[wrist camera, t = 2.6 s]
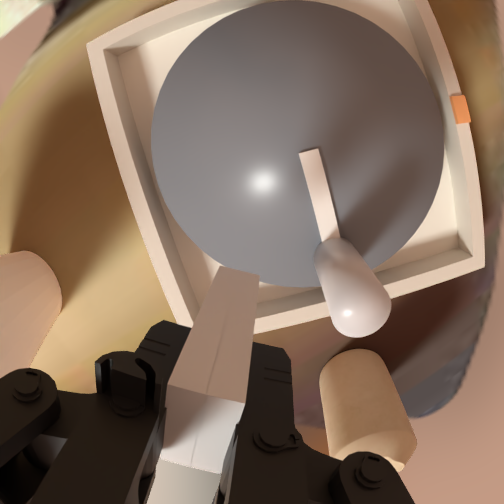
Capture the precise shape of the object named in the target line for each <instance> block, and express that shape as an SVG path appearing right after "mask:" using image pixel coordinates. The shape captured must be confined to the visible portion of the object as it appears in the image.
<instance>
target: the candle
mask: <svg viewBox="0 0 504 504" xmlns="http://www.w3.org/2000/svg"><path fill="white" fill-rule="evenodd" d="M319 384H320V392H321V399H322V405H323V412H324V419H325V425H326V432H327V439H328V446H329V454H330V456H331V457H334V458H336V459H339V460H342V461H343V460H344V459H345V458H346V457H347V456H348V455H349V454H352V453H355V452H357V451H369V452H372V453H375V454H379V455H381V456H382V457H384V458H385V459H387V460H388V461H389V462H390V463H391V464H392V465H393V467H394V468H395V469H396V471H397V472H399V471H401V470H403V469H404V467H405V465H406V463H407V462H408V460H409V459H410V458H411V456H412V454H413V452H414V451H415V449H416V446H417V439H416V437H415V434H414V432H413V429H412V427H411V424H410V422H409V419H408V417H407V414H406V412H405V409H404V407H403V404H402V402H401V400H400V397H399V395H398V392H397V390H396V388H395V385H394V383H393V381H392V379H391V376H390V374H389V372H388V369H387V367H386V365H385V363H384V361H383V360H382V358H381V357H380V356H379V355H378V354H377V353H375V352H373V351H371V350H367V349H352V350H348V351H345V352H342V353H340V354H338V355H336V356H335V357H333V358H332V359H331V360H329V361H328V362H327V363H326V365H325V366H324V368H323V369H322V371H321V374H320V380H319Z"/></svg>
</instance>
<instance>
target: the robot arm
mask: <svg viewBox="0 0 504 504" xmlns="http://www.w3.org/2000/svg"><path fill="white" fill-rule="evenodd" d="M259 280H260V275H257V274H252V273H248V272H244V271H240V270H236V269H232V268H228V267H224V266H219V268H218V271H217V273H216V275H215V277H214V279H213V282H212V284H211V286H210V288H209V290H208V293H207V295H206V297H205V299H204V302H203V304H202V306H201V308H200V310H199V313H198V315H197V317H196V319H195V322H194V324H193V326H192V328H190V327H187V326H183V325H179V324H176V323H172V322H169V321H165V320H163V321H161V322H159V323H157V324H156V325H154V326H152V327H151V328H150V329H149V331H148V333H147V334H146V336H145V337H144V339H143V340H142V342H141V343H140V345H139V348H137V350H136V351H135V353H134V352H129V351H117V352H111V353H108V354H105V355H102V356H101V357H100V358H99V359H98V360H96V361H95V375H96V388H97V393H93V394H80V393H73V392H67V391H61V390H57V387H56V384H55V381H54V380H53V379H52V378H51V377H50V376H49V375H48V374H46V373H45V372H43V371H41V370H38V369H33V368H22V369H17V370H14V371H12V372H10V373H8V374H6V375H5V376H3V377H2V378H0V504H146V503H147V500H148V497H149V494H150V491H151V488H152V485H153V482H154V479H155V472H156V464H157V462H158V459H159V456H160V453H161V457H160V459H163V460H166V461H169V462H173V463H177V464H180V465H184V466H188V467H192V468H197V469H200V470H204V471H209V472H213V473H218V474H221V472H222V474H221V479H220V484H219V487H218V489H217V492H216V494H215V497H214V499H213V502H212V504H415V503H414V501H413V499H412V498H411V496H410V494H409V492H408V491H407V489H406V487H405V485H404V483H403V482H402V480H401V478H400V476H399V475H398V473H397V471H396V469H395V468H394V467H393V465H392V464H391V463H390V462H389V461H388V460H387V459H385V458H384V457H382V456H381V455H379V454H375V453H372V452H369V451H357V452H355V453H352V454H349V455H348V456H347V457H346V458H345V459H344V460H343V461H342V460H339V459H336V458H334V457H331V456H328V455H325V454H322V453H320V452H318V451H316V450H313V449H312V448H310V447H309V446H308V445H306V444H305V443H304V442H303V439H302V436H301V434H300V433H299V432H298V431H297V429H296V428H295V425H294V408H293V390H292V375H291V360H290V358H289V357H288V355H287V354H286V352H285V351H284V349H283V348H278V347H274V346H269V345H265V344H260V343H256V342H253V334H254V325H255V316H256V307H257V298H258V289H259Z"/></svg>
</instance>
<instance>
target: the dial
mask: <svg viewBox="0 0 504 504" xmlns="http://www.w3.org/2000/svg"><path fill="white" fill-rule="evenodd" d="M151 152H152V160H153V167H154V171H155V175H156V179H157V183H158V186H159V188H160V191H161V193H162V196H163V198H164V201H165V203H166V205H167V207H168V208H169V210H170V212H171V214H172V215H173V217H174V219H175V220H176V222H177V223H178V224H179V226H180V227H181V228H182V230H183V231H184V232H185V234H186V235H187V236H188V237H189V238H190V239H191V240H192V241H193V242H194V243H195V244H196V245H197V246H198V247H199V248H200V249H201V250H202V251H204V252H205V253H206V254H207V255H209V256H210V257H211V258H212V259H214V260H215V261H217V262H218V263H220V264H222V265H223V266H225V267H228V268H232V269H236V270H240V271H244V272H248V273H252V274H257V275H260V280H259V281H260V282H263V283H267V284H272V285H278V286H284V287H302V288H305V287H318V286H321V287H322V290H323V293H324V296H325V300H326V303H327V306H328V309H329V312H330V316H331V319H332V322H333V324H334V326H335V328H336V329H337V330H338V331H339V332H340V333H342V334H344V335H346V336H349V337H364V336H367V335H370V334H372V333H374V332H376V331H377V330H378V329H380V328H381V327H382V326H383V325H384V323H385V322H386V321H387V319H388V317H389V314H390V311H391V299H390V296H389V294H388V292H387V291H386V290H385V288H384V287H383V285H382V284H381V283H380V281H379V280H378V278H377V277H376V276H375V274H374V273H373V272H372V269H374V268H376V267H377V266H379V265H380V264H382V263H383V262H385V261H386V260H388V259H389V258H390V257H392V256H393V255H394V254H395V253H396V252H397V251H399V250H400V249H401V248H402V247H403V246H404V245H405V244H406V243H407V242H408V240H409V239H410V238H411V237H412V236H413V235H414V234H415V232H416V231H417V229H418V228H419V227H420V225H421V224H422V222H423V221H424V219H425V217H426V216H427V214H428V212H429V210H430V208H431V206H432V204H433V201H434V199H435V196H436V193H437V190H438V187H439V184H440V179H441V174H442V170H443V161H444V133H443V126H442V121H441V115H440V111H439V108H438V105H437V102H436V99H435V96H434V93H433V91H432V89H431V87H430V85H429V83H428V81H427V78H426V77H425V75H424V73H423V72H422V70H421V69H420V67H419V66H418V64H417V63H416V61H415V60H414V59H413V58H412V56H411V55H410V54H409V53H408V52H407V50H406V49H405V48H404V47H403V46H402V45H401V44H400V43H399V42H398V41H397V40H395V39H394V38H393V37H392V36H391V35H390V34H389V33H387V32H386V31H385V30H383V29H382V28H380V27H379V26H377V25H376V24H375V23H373V22H371V21H370V20H368V19H366V18H364V17H362V16H360V15H358V14H356V13H354V12H351V11H348V10H346V9H343V8H340V7H337V6H333V5H329V4H325V3H320V2H314V1H303V0H286V1H274V2H268V3H263V4H258V5H255V6H251V7H248V8H245V9H242V10H239V11H237V12H235V13H233V14H231V15H229V16H226V17H224V18H222V19H221V20H219V21H218V22H216V23H215V24H213V25H212V26H210V27H209V28H207V29H206V30H204V31H203V32H202V33H201V34H200V35H199V36H197V37H196V38H195V39H194V40H193V41H192V42H191V43H190V44H189V45H188V46H187V47H186V49H185V50H184V51H183V52H182V53H181V54H180V56H179V57H178V58H177V60H176V61H175V63H174V64H173V66H172V67H171V69H170V71H169V72H168V74H167V76H166V78H165V80H164V83H163V85H162V87H161V89H160V92H159V95H158V98H157V101H156V105H155V108H154V114H153V120H152V126H151Z"/></svg>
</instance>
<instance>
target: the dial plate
mask: <svg viewBox="0 0 504 504" xmlns="http://www.w3.org/2000/svg"><path fill="white" fill-rule="evenodd" d="M274 1H286V0H177V1H175V2H172V3H170V4H167V5H165V6H162V7H160V8H157V9H155V10H153V11H150V12H148V13H146V14H144V15H141V16H139V17H137V18H135V19H133V20H131V21H129V22H127V23H124V24H122V25H120V26H118V27H116V28H115V29H113V30H111V31H109V32H107V33H105V34H103V35H101V36H99V37H98V38H96V39H94V40H92V41H91V42H89V43H87V44H86V46H87V51H88V56H89V60H90V65H91V69H92V74H93V78H94V82H95V86H96V90H97V94H98V98H99V102H100V106H101V110H102V113H103V117H104V121H105V124H106V128H107V132H108V135H109V138H110V142H111V145H112V149H113V152H114V155H115V159H116V162H117V165H118V168H119V171H120V174H121V178H122V181H123V184H124V187H125V190H126V193H127V196H128V199H129V201H130V204H131V207H132V210H133V213H134V216H135V219H136V221H137V224H138V227H139V230H140V232H141V235H142V238H143V240H144V243H145V246H146V248H147V251H148V254H149V256H150V259H151V261H152V264H153V266H154V269H155V271H156V274H157V276H158V279H159V281H160V284H161V286H162V289H163V291H164V293H165V296H166V298H167V300H168V303H169V305H170V307H171V310H172V312H173V314H174V317H175V319H176V321H177V323H178V324H179V325H183V326H187V327H190V328H192V326H193V324H194V322H195V319H196V317H197V315H198V313H199V310H200V308H201V306H202V304H203V302H204V299H205V297H206V295H207V293H208V290H209V288H210V286H211V284H212V282H213V279H214V277H215V275H216V273H217V271H218V268H219V266H223V265H222V264H220V263H218V262H217V261H215V260H214V259H212V258H211V257H210V256H209V255H207V254H206V253H205V252H204V251H202V250H201V249H200V248H199V247H198V246H197V245H196V244H195V243H194V242H193V241H192V240H191V239H190V238H189V237H188V236H187V235H186V234H185V232H184V231H183V230H182V228H181V227H180V226H179V224H178V223H177V222H176V220H175V219H174V217H173V215H172V214H171V212H170V210H169V208H168V207H167V205H166V203H165V201H164V198H163V196H162V193H161V191H160V188H159V186H158V183H157V179H156V175H155V171H154V167H153V160H152V152H151V126H152V120H153V114H154V108H155V105H156V101H157V98H158V95H159V92H160V89H161V87H162V85H163V83H164V80H165V78H166V76H167V74H168V72H169V71H170V69H171V67H172V66H173V64H174V63H175V61H176V60H177V58H178V57H179V56H180V54H181V53H182V52H183V51H184V50H185V49H186V47H187V46H188V45H189V44H190V43H191V42H192V41H193V40H194V39H195V38H196V37H197V36H199V35H200V34H201V33H202V32H203V31H204V30H206V29H207V28H209V27H210V26H212V25H213V24H215V23H216V22H218V21H219V20H221V19H222V18H224V17H226V16H229V15H231V14H233V13H235V12H237V11H239V10H242V9H245V8H248V7H251V6H255V5H258V4H263V3H268V2H274ZM303 1H314V2H320V3H325V4H329V5H333V6H337V7H340V8H343V9H346V10H348V11H351V12H354V13H356V14H358V15H360V16H362V17H364V18H366V19H368V20H370V21H371V22H373V23H375V24H376V25H377V26H379V27H380V28H382V29H383V30H385V31H386V32H387V33H389V34H390V35H391V36H392V37H393V38H394V39H395V40H397V41H398V42H399V43H400V44H401V45H402V46H403V47H404V48H405V49H406V50H407V52H408V53H409V54H410V55H411V56H412V58H413V59H414V60H415V61H416V63H417V64H418V66H419V67H420V69H421V70H422V72H423V73H424V75H425V77H426V78H427V81H428V83H429V85H430V87H431V89H432V91H433V93H434V96H435V99H436V102H437V105H438V108H439V111H440V115H441V121H442V126H443V133H444V161H443V170H442V174H441V179H440V184H439V187H438V190H437V193H436V196H435V199H434V201H433V204H432V206H431V208H430V210H429V212H428V214H427V216H426V217H425V219H424V221H423V222H422V224H421V225H420V227H419V228H418V229H417V231H416V232H415V234H414V235H413V236H412V237H411V238H410V239H409V240H408V242H407V243H406V244H405V245H404V246H403V247H402V248H401V249H400V250H399V251H397V252H396V253H395V254H394V255H393V256H392V257H390V258H389V259H388V260H386V261H385V262H383V263H382V264H380V265H379V266H377V267H376V268H374V269H372V272H373V273H374V274H375V276H376V277H377V278H378V280H379V281H380V283H381V284H382V285H383V287H384V288H385V290H386V291H387V292H388V294H389V296H390V299H391V298H394V297H398V296H401V295H404V294H407V293H411V292H414V291H417V290H420V289H423V288H426V287H429V286H432V285H435V284H438V283H441V282H444V281H447V280H450V279H453V278H455V277H458V276H461V275H464V274H467V273H469V272H472V271H475V270H478V269H480V268H483V267H485V249H484V227H483V213H482V202H481V193H480V184H479V177H478V170H477V163H476V157H475V152H474V146H473V141H472V136H471V131H470V126H469V122H471V119H470V114H469V110H468V106H467V102H466V98H465V95H462V94H461V90H460V87H459V83H458V80H457V76H456V73H455V70H454V67H453V64H452V61H451V58H450V55H449V52H448V49H447V47H446V44H445V41H444V38H443V36H442V33H441V31H440V28H439V26H438V23H437V21H436V18H435V16H434V14H433V11H432V9H431V7H430V5H429V3H428V0H303ZM224 267H225V266H224ZM327 316H330V312H329V309H328V306H327V303H326V300H325V296H324V293H323V290H322V287H321V286H318V287H305V288H302V287H284V286H278V285H272V284H267V283H263V282H260V281H259V289H258V298H257V307H256V316H255V325H254V334H256V333H261V332H266V331H270V330H274V329H279V328H283V327H287V326H291V325H296V324H300V323H304V322H308V321H312V320H316V319H320V318H324V317H327Z"/></svg>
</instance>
